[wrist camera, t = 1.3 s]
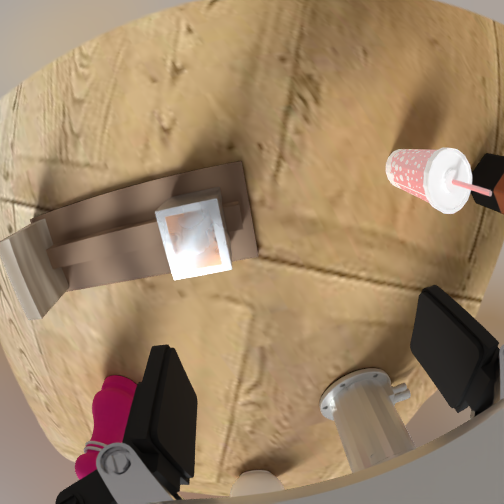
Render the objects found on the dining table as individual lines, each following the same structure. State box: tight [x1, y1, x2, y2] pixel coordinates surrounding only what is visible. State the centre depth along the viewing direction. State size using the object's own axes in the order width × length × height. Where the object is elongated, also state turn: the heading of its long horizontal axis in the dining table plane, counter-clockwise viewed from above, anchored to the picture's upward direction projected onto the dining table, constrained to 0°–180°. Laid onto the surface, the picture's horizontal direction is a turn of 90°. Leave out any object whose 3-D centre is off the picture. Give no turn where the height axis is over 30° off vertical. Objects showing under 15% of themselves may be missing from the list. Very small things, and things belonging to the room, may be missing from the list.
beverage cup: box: [386, 148, 492, 214], centre depth 22 cm, size 6×6×14 cm
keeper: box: [155, 187, 232, 280], centre depth 26 cm, size 5×6×6 cm
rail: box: [0, 161, 258, 320], centre depth 26 cm, size 26×10×8 cm, turn 100°
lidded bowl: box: [230, 470, 285, 497], centre depth 46 cm, size 13×13×11 cm
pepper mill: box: [75, 375, 137, 479], centre depth 28 cm, size 7×7×20 cm
